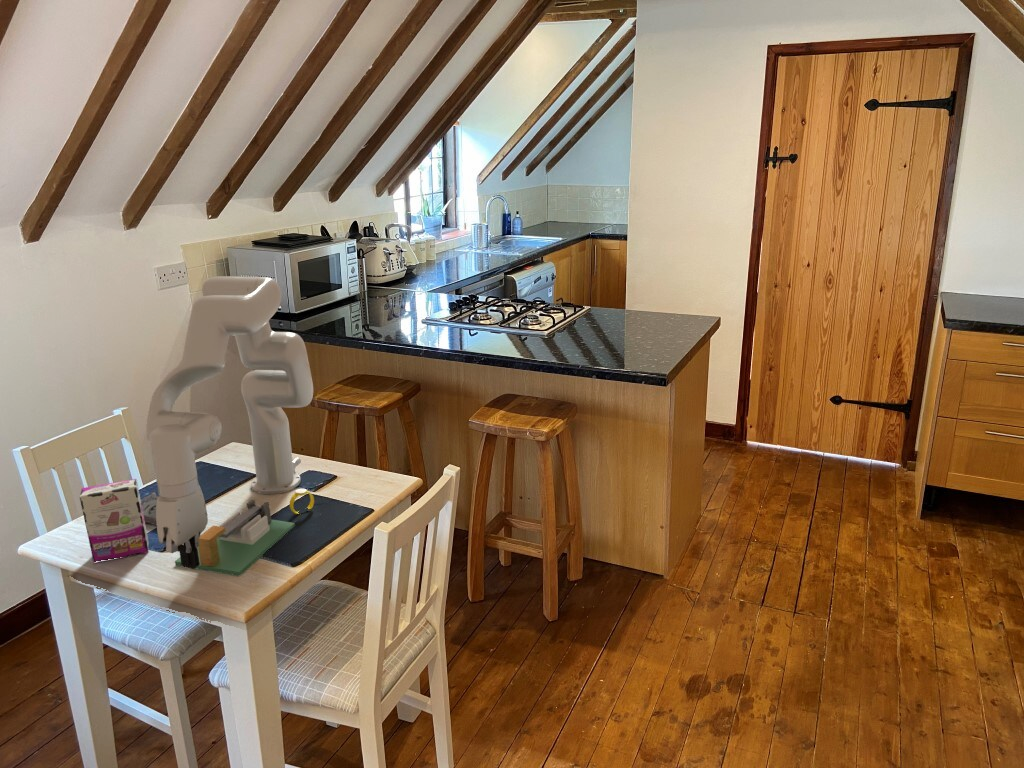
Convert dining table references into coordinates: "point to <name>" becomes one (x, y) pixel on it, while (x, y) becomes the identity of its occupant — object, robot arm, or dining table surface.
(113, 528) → the candy bar box
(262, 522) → the board
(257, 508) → the grey long bar
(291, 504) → the watch
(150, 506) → the graphics card
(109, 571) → the dining table surface
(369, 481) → the dining table surface
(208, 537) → the block
